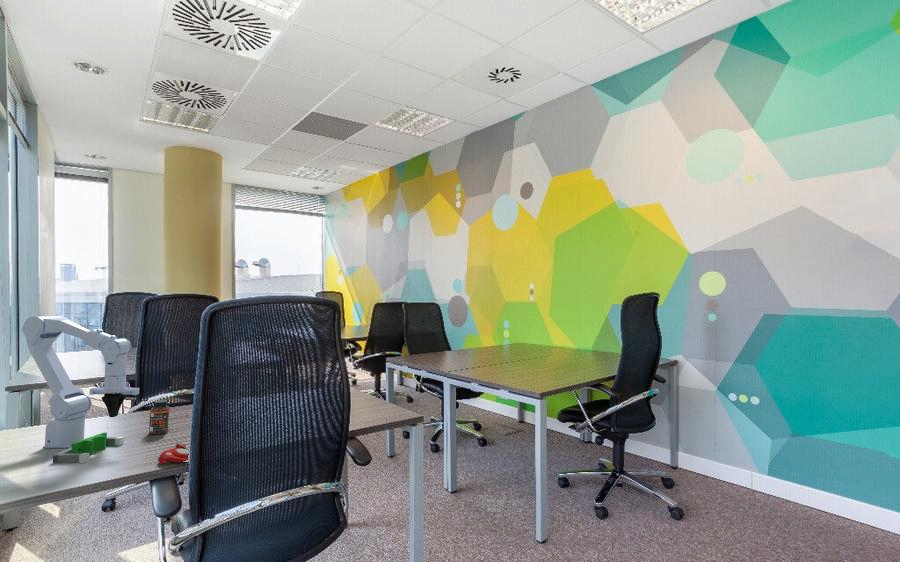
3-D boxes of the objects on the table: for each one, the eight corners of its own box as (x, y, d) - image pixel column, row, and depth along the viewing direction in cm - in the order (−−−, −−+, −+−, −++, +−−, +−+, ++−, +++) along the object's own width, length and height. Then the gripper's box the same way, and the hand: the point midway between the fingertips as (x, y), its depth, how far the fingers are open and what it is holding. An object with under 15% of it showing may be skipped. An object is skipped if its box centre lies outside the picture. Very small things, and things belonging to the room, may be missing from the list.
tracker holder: (203, 456, 136) (169, 457, 128) (197, 470, 135) (163, 472, 127) (186, 438, 143) (153, 438, 135) (181, 452, 142) (147, 453, 134)
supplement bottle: (150, 436, 156) (152, 403, 157) (147, 432, 160) (148, 400, 161) (170, 432, 160) (171, 401, 161) (166, 428, 165) (168, 398, 165)
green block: (82, 459, 134) (82, 444, 134) (71, 458, 134) (71, 443, 134) (113, 446, 145) (114, 432, 145) (103, 446, 145) (103, 432, 146)
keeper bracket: (52, 463, 130) (52, 455, 130) (94, 443, 147) (95, 436, 147) (84, 462, 130) (85, 455, 131) (123, 443, 148) (123, 436, 148)
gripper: (83, 377, 142) (81, 419, 142) (130, 377, 143) (128, 419, 143) (99, 373, 149) (97, 414, 149) (143, 373, 150) (142, 414, 150)
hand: (113, 416), depth 146 cm, fingers closed
